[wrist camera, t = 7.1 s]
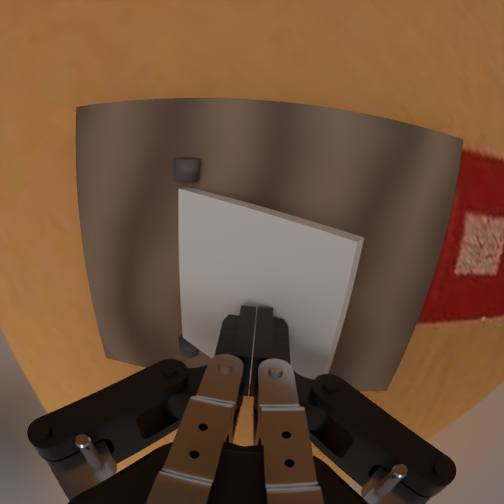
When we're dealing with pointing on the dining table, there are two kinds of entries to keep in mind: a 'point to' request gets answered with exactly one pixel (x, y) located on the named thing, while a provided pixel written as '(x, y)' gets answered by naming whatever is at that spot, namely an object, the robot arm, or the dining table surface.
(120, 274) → the walnut board
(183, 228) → the tile
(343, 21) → the dining table surface
